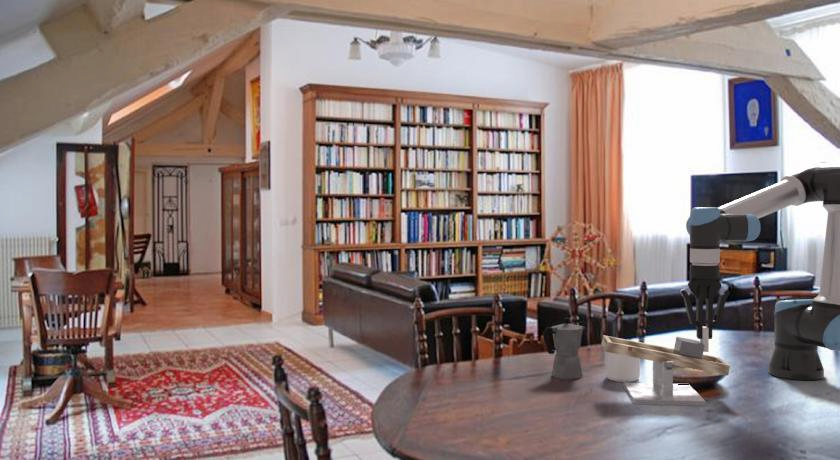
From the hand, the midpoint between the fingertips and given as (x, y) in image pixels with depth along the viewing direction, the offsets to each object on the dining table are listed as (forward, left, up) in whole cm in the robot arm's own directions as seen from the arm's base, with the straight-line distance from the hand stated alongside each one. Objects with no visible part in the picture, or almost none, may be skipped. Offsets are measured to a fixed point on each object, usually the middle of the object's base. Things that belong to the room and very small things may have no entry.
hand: (704, 350), depth 194 cm
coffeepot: (+36, -20, -13) cm, 43 cm away
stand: (+11, 0, -13) cm, 17 cm away
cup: (+19, -18, -13) cm, 29 cm away
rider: (+5, 0, -2) cm, 5 cm away
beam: (+11, 0, -3) cm, 11 cm away
